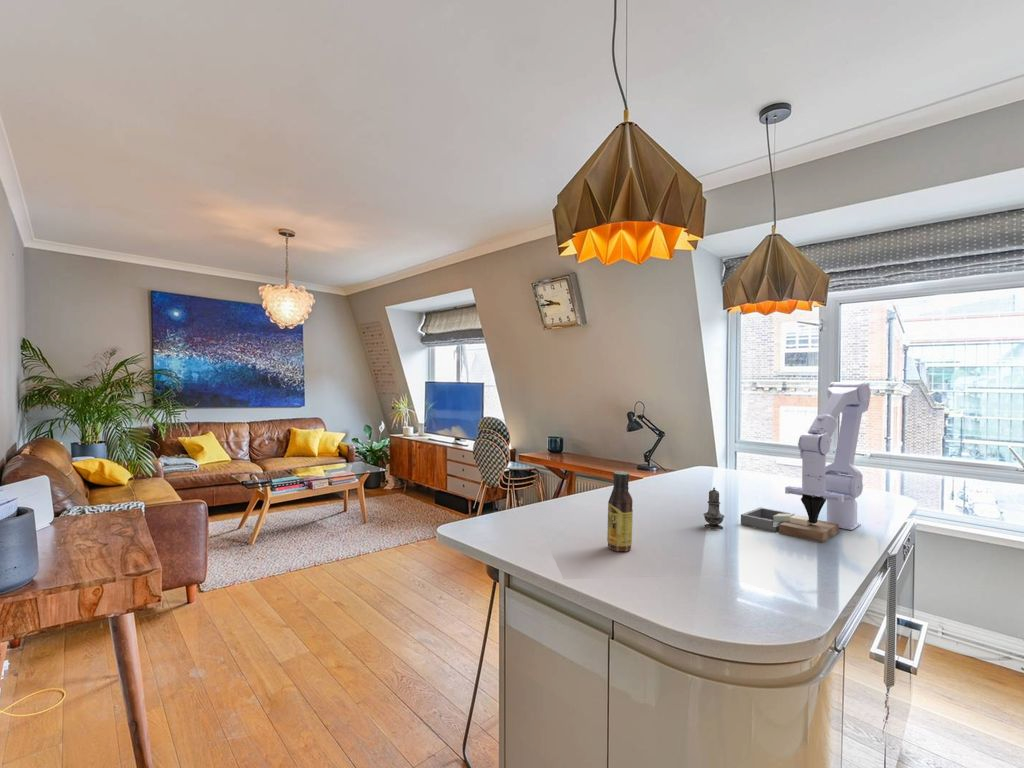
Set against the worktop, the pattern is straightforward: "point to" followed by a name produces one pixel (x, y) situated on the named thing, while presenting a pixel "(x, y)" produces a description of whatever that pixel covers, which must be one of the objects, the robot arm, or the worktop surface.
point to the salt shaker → (713, 511)
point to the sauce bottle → (620, 514)
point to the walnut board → (810, 530)
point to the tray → (762, 519)
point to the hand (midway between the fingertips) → (813, 522)
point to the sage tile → (782, 517)
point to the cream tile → (800, 519)
